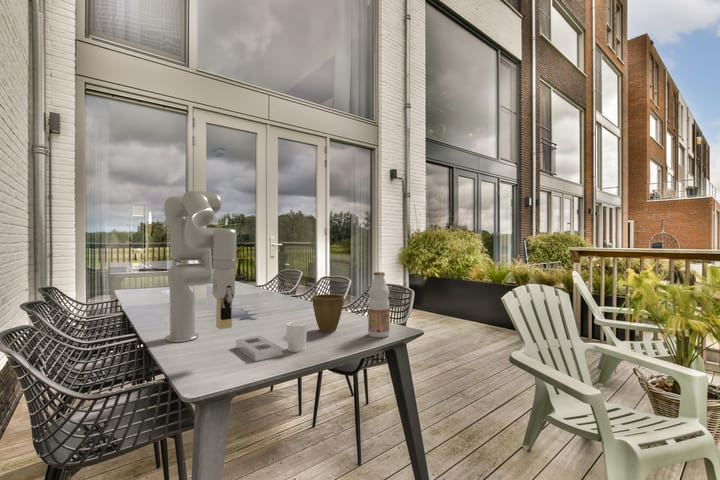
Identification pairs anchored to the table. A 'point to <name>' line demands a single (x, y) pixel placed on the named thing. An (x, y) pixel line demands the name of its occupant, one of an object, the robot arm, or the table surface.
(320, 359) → the table surface
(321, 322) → the plant pot
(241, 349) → the rail
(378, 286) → the fruit juice
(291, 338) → the white cup
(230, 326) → the brass square peg
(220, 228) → the robot arm
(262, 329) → the table surface
